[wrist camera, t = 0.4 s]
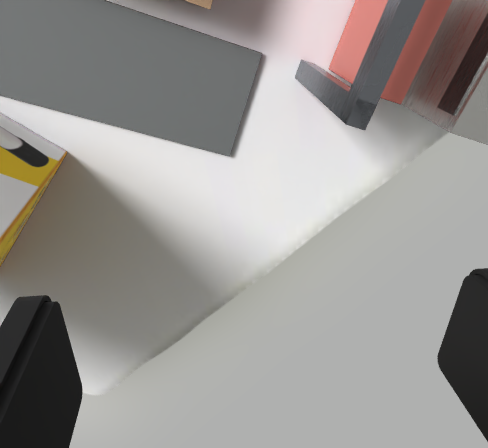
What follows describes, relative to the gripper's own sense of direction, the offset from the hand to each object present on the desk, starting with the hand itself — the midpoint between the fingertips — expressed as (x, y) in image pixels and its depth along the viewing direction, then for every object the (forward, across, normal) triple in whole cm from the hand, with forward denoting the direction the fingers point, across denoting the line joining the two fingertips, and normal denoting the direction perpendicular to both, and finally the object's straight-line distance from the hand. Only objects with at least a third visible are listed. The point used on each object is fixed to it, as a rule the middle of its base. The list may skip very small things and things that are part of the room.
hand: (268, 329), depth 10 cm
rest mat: (+28, +7, -1) cm, 29 cm away
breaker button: (+28, -12, -5) cm, 31 cm away
